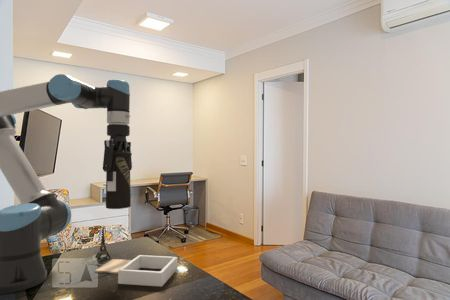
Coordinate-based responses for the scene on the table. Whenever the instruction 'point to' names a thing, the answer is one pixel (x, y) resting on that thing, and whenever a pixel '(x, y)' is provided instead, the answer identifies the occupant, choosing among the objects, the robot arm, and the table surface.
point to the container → (120, 182)
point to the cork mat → (112, 266)
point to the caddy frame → (148, 278)
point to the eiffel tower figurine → (98, 254)
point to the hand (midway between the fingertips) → (118, 189)
